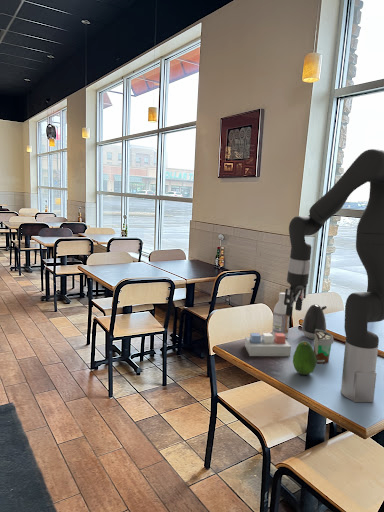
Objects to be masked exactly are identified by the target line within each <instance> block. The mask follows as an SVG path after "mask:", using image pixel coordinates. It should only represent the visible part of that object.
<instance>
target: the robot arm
mask: <svg viewBox="0 0 384 512" xmlns="http://www.w3.org/2000/svg"><path fill="white" fill-rule="evenodd" d="M366 183H369V194H368V196H369V197H368V201H367V204H366V206H365V209H364V211H363V212H362V215H361V216H360V219H359V221H358V223H357V227H356V235H355V236H356V237H355V250H356V253H357V255H358V257H359V260H360V262H361V264H362V266H363V267H364V270H365V272H366V276H367V277H366V278H367V288H366V289H367V290H366V291H359V292H352V293H350V294H349V295H348V296H347V298H346V301H345V304H344V305H345V306H344V307H345V308H344V333H345V343H344V344H345V345H344V353H343V362H342V363H343V364H342V376H341V385H340V393H341V395H342V396H343V397H345V398H347V399H349V400H351V401H352V402H353V403H374V401H375V391H376V390H375V389H376V381H377V372H376V370H377V369H376V368H377V360H378V352H379V343H380V339H379V336H378V335H377V334H375V333H374V332H372V331H369V330H368V323H376V322H381V321H384V150H383V149H382V150H381V149H373V148H371V149H367V150H365V151H363V152H362V153H360V154H359V155H358V157H356V158H355V160H354V161H353V162H352V163H351V164H350V166H349V167H347V169H346V170H345V172H344V173H343V174H341V177H340V178H339V179H338V180H337V182H335V184H334V185H333V186H332V187H331V188H330V189H329V190H328V191H327V192H326V193H325V194H324V195H323V196H321V198H319V199H317V201H315V203H313V204H312V205H311V207H310V208H309V210H308V211H309V212H308V213H309V214H308V215H299V216H298V215H297V216H295V217H293V218H292V219H291V220H290V222H289V225H288V234H289V240H290V241H289V242H290V255H289V256H290V257H289V262H288V266H287V274H286V275H287V276H286V282H287V284H289V285H290V287H289V288H286V289H285V291H284V293H285V299H284V305H287V307H286V315H287V316H289V317H292V316H293V311H294V310H295V311H297V312H301V311H302V307H303V302H304V300H305V299H306V296H307V289H308V288H307V287H308V284H309V278H310V270H311V257H312V245H311V244H310V243H308V242H306V238H305V237H309V236H313V235H315V234H317V233H318V232H319V231H320V230H321V228H322V227H323V226H324V225H325V224H326V221H328V220H329V219H331V218H332V217H333V216H334V215H336V214H337V213H338V212H339V211H341V209H342V208H343V206H345V204H346V202H347V201H348V198H349V197H350V195H352V193H353V192H354V191H356V190H357V189H359V187H362V186H363V185H365V184H366ZM294 305H295V308H294Z"/></svg>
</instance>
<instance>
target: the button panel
mask: <svg viewBox="0 0 384 512" xmlns="http://www.w3.org/2000/svg"><path fill="white" fill-rule="evenodd" d="M262 337H263V336H261V342H260V343H251V342H250V336H245V338H244V340H245V341H244V346H245V349H246V352H247V353H248V355H249V357H291V353H292V352H291V351H292V345H290V343H289V342H288V340H287V339H285V344H276V343H275V341H274V339H275V337H273V344H268V343H263V342H262Z"/></svg>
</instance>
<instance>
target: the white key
mask: <svg viewBox="0 0 384 512" xmlns="http://www.w3.org/2000/svg"><path fill="white" fill-rule="evenodd" d="M261 337H262V342H263V343H268V344H273V335H272V333H271V332H262V336H261Z"/></svg>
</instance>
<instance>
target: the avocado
mask: <svg viewBox="0 0 384 512" xmlns="http://www.w3.org/2000/svg"><path fill="white" fill-rule="evenodd" d="M316 360H317V359H316V356H315V353H314V348H313V346H312V345H311V343H309V342H308V341H307V340H306V341H305V340H302V341H300V342H299V343H298V344H297V346H296V348H295V351H294V353H293V356H292V363H293V367H294V369H295V371H296V373H298V374H300V375H303V376H304V375H310V374H311V373H313V372H314V371H315V369H316V367H317V364H316Z"/></svg>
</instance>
